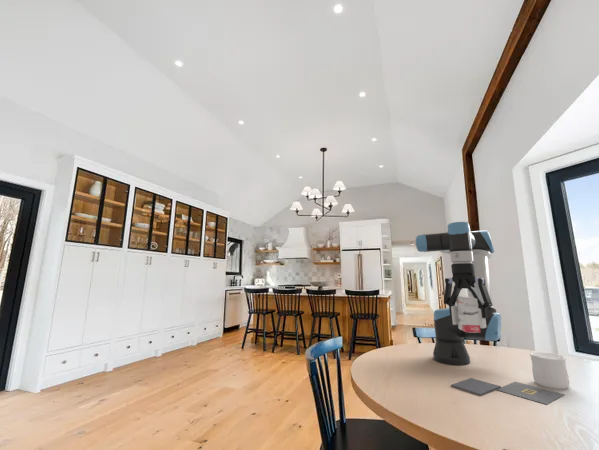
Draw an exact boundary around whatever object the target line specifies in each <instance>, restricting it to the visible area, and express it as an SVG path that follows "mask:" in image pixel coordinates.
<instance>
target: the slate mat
mask: <svg viewBox="0 0 599 450" xmlns="http://www.w3.org/2000/svg"><path fill="white" fill-rule="evenodd" d="M495 391H498V392H502V393H505V394H507V395H508V394H509V395H512V396H516V397H519V398H521V399H525V400H529V401H533V402H535V403H539V404H543V405H549V404H551V403H553V402H554V401H556V400H558V399H560V398H562V397H564V396H565V394H564V393H561V392H558V391H554V390H550V389H547V388H546V389H545V388H542V387H539V386H535V385H530V384H526V383H523V382H518V381H513V382H510V383H508V384H506V385H503V386H501V387H500V388H498V389H496V390H495Z"/></svg>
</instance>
